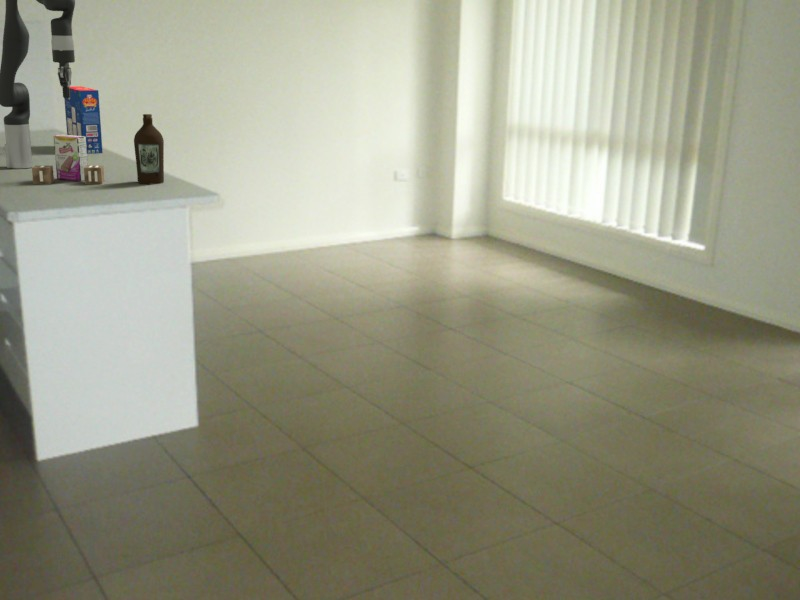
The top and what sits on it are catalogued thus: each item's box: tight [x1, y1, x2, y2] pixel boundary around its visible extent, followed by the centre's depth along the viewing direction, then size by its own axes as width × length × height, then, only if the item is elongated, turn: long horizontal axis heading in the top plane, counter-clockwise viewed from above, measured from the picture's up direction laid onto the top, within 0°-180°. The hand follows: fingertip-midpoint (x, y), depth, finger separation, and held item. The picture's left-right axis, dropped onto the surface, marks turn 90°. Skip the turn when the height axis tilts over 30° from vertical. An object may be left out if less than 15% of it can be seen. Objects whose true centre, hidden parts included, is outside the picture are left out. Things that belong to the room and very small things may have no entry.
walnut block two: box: [84, 165, 105, 185], centre depth 337 cm, size 6×6×6 cm
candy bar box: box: [53, 134, 89, 182], centre depth 340 cm, size 11×5×16 cm, turn 71°
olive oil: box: [133, 113, 165, 185], centre depth 338 cm, size 11×11×25 cm
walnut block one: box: [31, 165, 55, 185], centre depth 334 cm, size 6×6×6 cm
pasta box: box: [63, 86, 104, 155], centre depth 421 cm, size 28×8×28 cm, turn 34°
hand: (66, 97), depth 334 cm, fingers closed
